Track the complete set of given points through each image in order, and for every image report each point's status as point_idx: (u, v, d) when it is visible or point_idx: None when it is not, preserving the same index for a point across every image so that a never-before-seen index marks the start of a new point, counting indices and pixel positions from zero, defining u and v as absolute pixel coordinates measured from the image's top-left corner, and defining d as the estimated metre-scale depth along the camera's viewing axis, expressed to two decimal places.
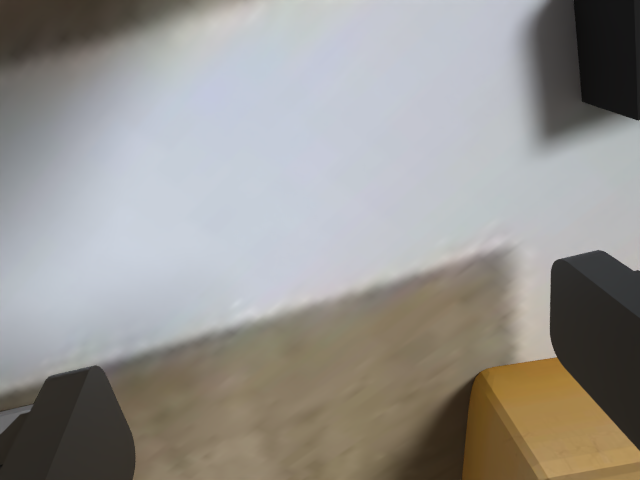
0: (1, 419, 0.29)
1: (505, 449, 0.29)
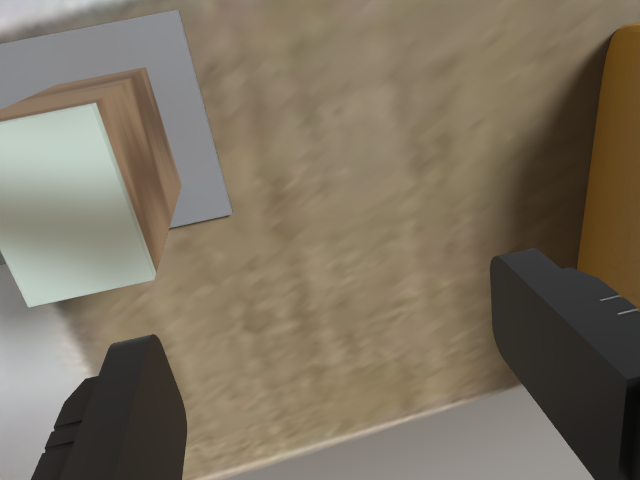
0: (142, 21, 0.28)
1: None
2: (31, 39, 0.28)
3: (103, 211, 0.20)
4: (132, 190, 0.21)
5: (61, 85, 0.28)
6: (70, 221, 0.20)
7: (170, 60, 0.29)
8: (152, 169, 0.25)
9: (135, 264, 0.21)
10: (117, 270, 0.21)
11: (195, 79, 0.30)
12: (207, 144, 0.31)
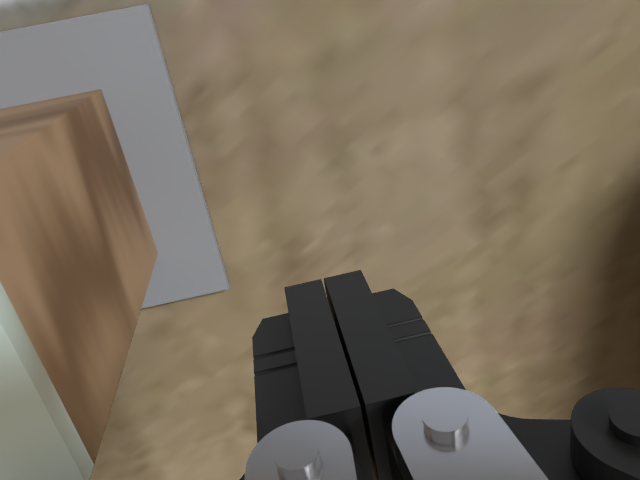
0: (94, 21, 0.19)
1: None
2: None
3: None
4: (47, 330, 0.12)
5: None
6: None
7: (137, 79, 0.20)
8: (101, 258, 0.16)
9: (51, 465, 0.11)
10: (19, 476, 0.11)
11: (175, 106, 0.20)
12: (193, 196, 0.22)
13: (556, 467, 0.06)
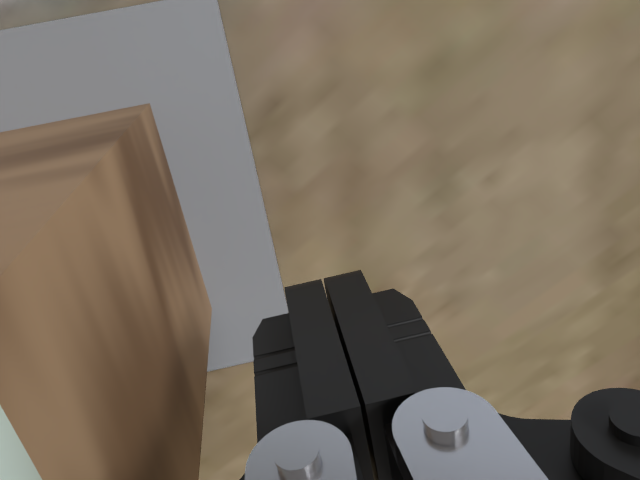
0: (144, 13, 0.14)
1: None
2: None
3: None
4: None
5: None
6: None
7: (197, 90, 0.15)
8: (164, 346, 0.11)
9: None
10: None
11: (243, 125, 0.16)
12: (260, 240, 0.17)
13: (556, 467, 0.06)
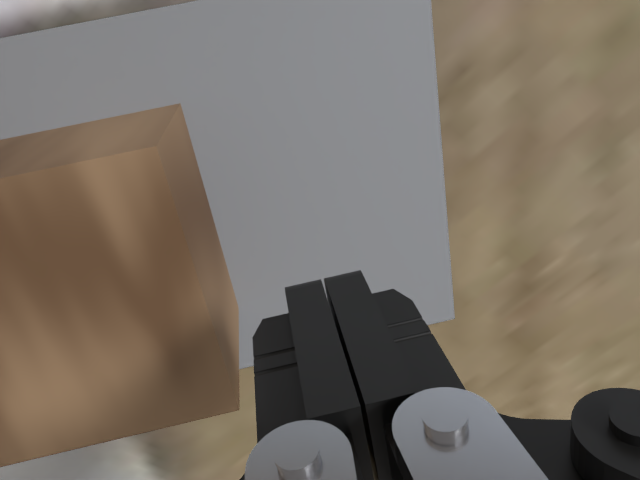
0: None
1: None
2: (145, 13, 0.14)
3: None
4: None
5: (140, 115, 0.14)
6: None
7: (398, 55, 0.15)
8: None
9: None
10: None
11: (435, 91, 0.16)
12: (436, 206, 0.17)
13: (556, 468, 0.06)
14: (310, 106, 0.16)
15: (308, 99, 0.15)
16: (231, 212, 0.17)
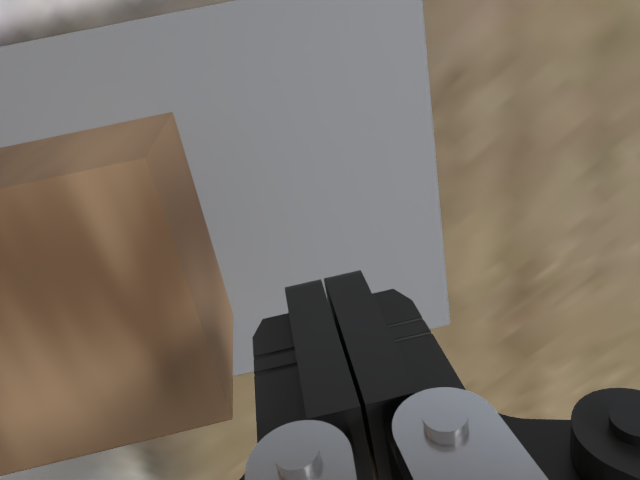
0: None
1: None
2: (137, 22, 0.14)
3: None
4: None
5: (132, 124, 0.14)
6: None
7: (390, 62, 0.15)
8: None
9: None
10: None
11: (428, 97, 0.16)
12: (430, 212, 0.17)
13: (556, 467, 0.06)
14: (303, 113, 0.16)
15: (301, 107, 0.15)
16: (225, 220, 0.17)
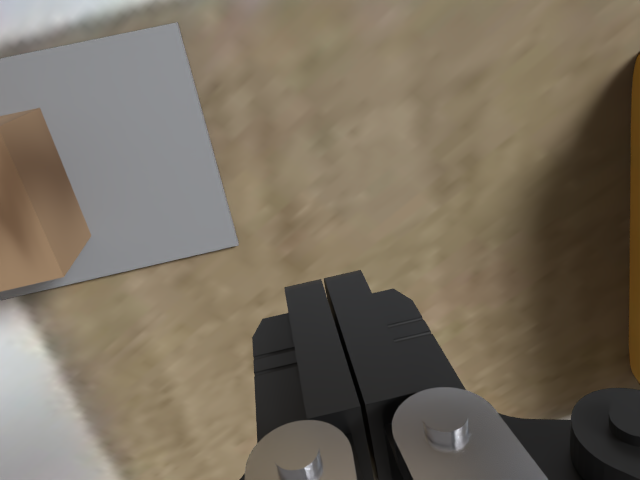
0: (138, 35, 0.25)
1: None
2: (14, 57, 0.25)
3: None
4: None
5: (13, 114, 0.25)
6: None
7: (169, 78, 0.26)
8: None
9: None
10: None
11: (197, 98, 0.27)
12: (210, 169, 0.28)
13: (556, 467, 0.06)
14: (120, 108, 0.26)
15: (117, 104, 0.26)
16: (79, 173, 0.27)
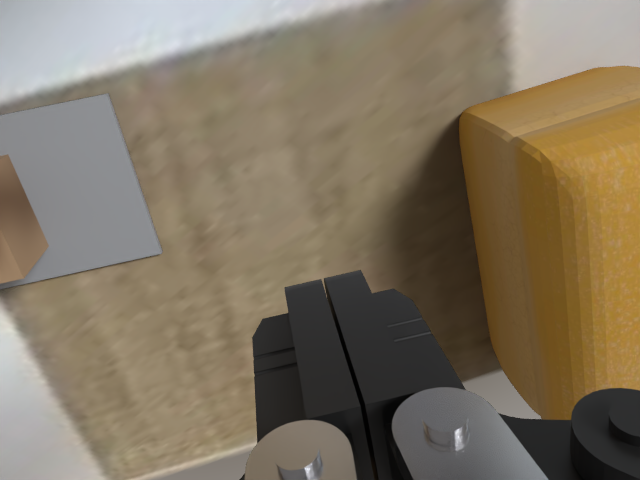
0: (79, 103, 0.35)
1: (485, 146, 0.35)
2: None
3: None
4: None
5: None
6: None
7: (103, 133, 0.36)
8: None
9: None
10: None
11: (124, 147, 0.36)
12: (137, 198, 0.38)
13: (556, 467, 0.06)
14: (67, 154, 0.36)
15: (65, 151, 0.36)
16: (38, 200, 0.37)
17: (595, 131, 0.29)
